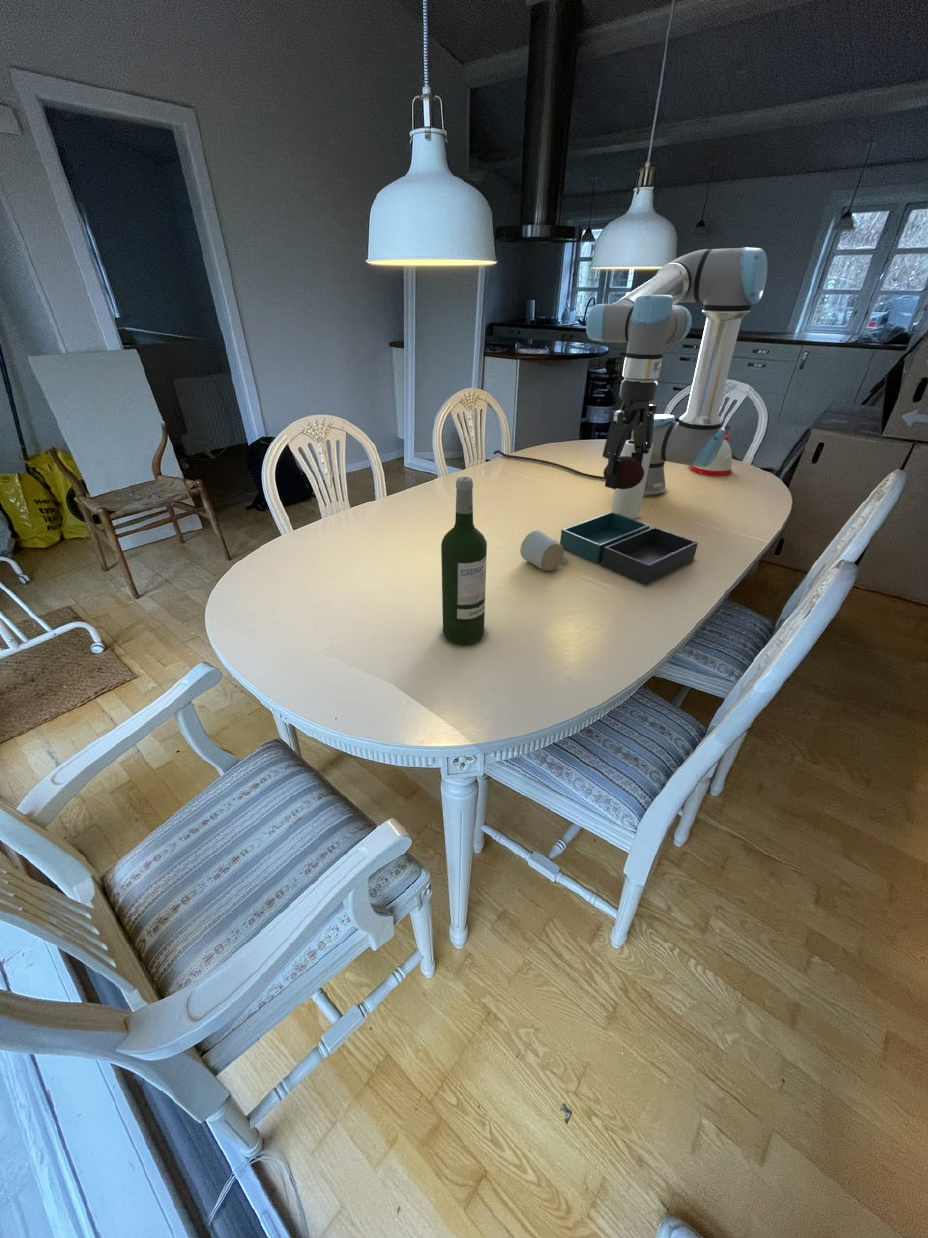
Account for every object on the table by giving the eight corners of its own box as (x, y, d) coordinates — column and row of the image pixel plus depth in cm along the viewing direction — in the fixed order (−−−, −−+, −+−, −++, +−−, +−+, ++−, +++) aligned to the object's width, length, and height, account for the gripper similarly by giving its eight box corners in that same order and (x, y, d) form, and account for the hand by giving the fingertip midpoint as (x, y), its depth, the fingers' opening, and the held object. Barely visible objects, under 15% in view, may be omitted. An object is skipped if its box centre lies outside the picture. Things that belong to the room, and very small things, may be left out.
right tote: (601, 565, 122) (604, 547, 119) (650, 544, 132) (654, 526, 130) (644, 585, 114) (649, 565, 111) (693, 560, 124) (698, 542, 122)
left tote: (559, 547, 130) (561, 529, 128) (608, 528, 141) (611, 511, 138) (597, 564, 122) (600, 545, 120) (646, 542, 133) (650, 525, 130)
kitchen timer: (683, 465, 193) (693, 423, 185) (717, 464, 195) (728, 423, 187) (701, 476, 182) (712, 432, 174) (737, 474, 183) (750, 431, 175)
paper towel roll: (606, 516, 148) (618, 441, 137) (616, 511, 152) (629, 437, 140) (628, 523, 144) (643, 446, 133) (638, 517, 148) (653, 442, 136)
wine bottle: (470, 650, 93) (472, 490, 76) (434, 637, 96) (430, 481, 80) (491, 630, 98) (498, 476, 82) (457, 618, 102) (457, 468, 86)
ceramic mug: (541, 576, 117) (545, 545, 113) (518, 563, 122) (521, 533, 118) (574, 565, 122) (578, 535, 118) (550, 553, 128) (554, 524, 124)
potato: (639, 496, 118) (646, 462, 113) (599, 491, 120) (604, 458, 116) (641, 485, 124) (648, 453, 120) (603, 481, 126) (608, 450, 122)
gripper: (625, 386, 101) (607, 497, 113) (682, 377, 112) (660, 479, 124) (595, 382, 106) (581, 488, 118) (652, 373, 117) (634, 471, 129)
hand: (621, 483), depth 121 cm, fingers closed on potato, 8 cm apart
